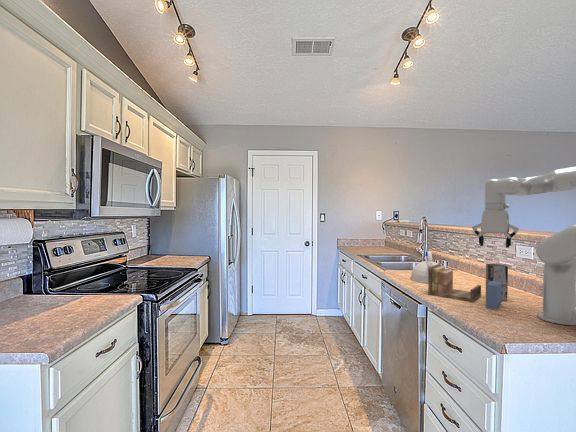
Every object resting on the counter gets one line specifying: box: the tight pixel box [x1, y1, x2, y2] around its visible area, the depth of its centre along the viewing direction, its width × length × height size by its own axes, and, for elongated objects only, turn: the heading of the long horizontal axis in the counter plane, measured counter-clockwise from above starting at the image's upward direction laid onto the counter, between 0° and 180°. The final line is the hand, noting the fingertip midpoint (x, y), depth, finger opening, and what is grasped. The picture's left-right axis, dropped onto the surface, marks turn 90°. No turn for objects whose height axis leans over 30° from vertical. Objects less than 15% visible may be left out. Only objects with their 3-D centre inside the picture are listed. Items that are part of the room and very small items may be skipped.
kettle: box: [410, 250, 439, 285], centre depth 193 cm, size 20×21×18 cm
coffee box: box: [485, 263, 509, 302], centre depth 154 cm, size 9×6×16 cm
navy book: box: [485, 281, 502, 310], centre depth 141 cm, size 4×10×10 cm, turn 137°
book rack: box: [427, 263, 482, 303], centre depth 158 cm, size 20×14×14 cm
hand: (494, 246), depth 140 cm, fingers open, 9 cm apart
